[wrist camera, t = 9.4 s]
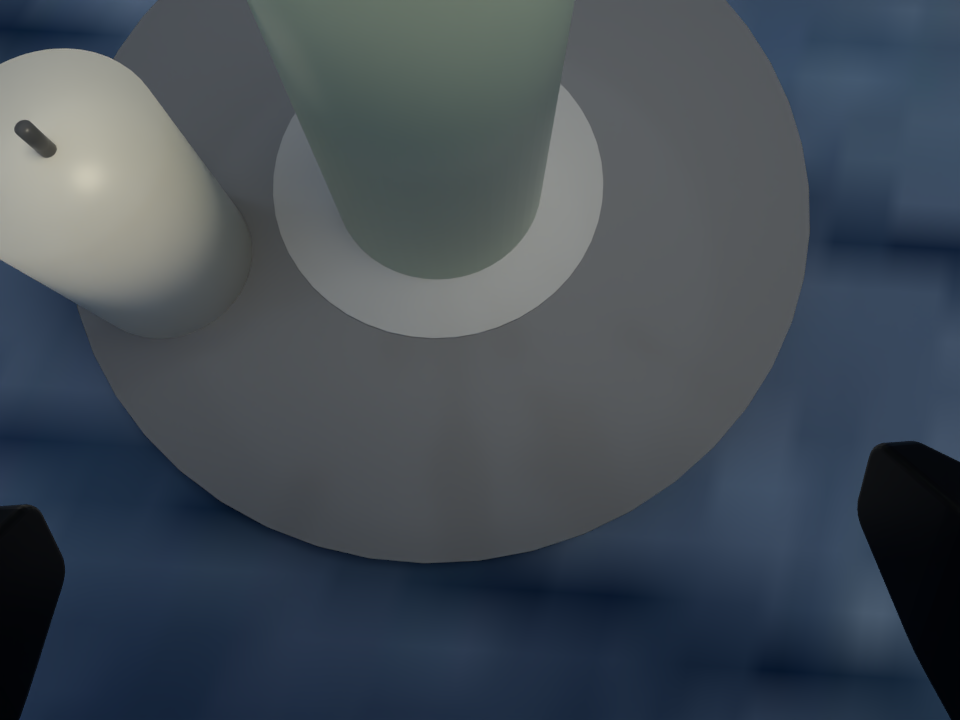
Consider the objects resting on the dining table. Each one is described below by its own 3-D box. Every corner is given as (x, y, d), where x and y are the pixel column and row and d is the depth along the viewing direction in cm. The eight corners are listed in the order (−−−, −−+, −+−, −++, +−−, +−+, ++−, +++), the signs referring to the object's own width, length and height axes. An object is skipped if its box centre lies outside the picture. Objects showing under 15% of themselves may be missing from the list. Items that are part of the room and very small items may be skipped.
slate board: (421, 738, 16) (416, 754, 15) (-48, 193, 19) (-84, 169, 18) (933, 211, 19) (965, 187, 18) (455, -189, 22) (453, -233, 21)
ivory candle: (152, 373, 17) (-8, 293, 11) (49, 254, 18) (-150, 124, 12) (286, 259, 18) (196, 131, 12) (181, 149, 18) (50, -20, 13)
